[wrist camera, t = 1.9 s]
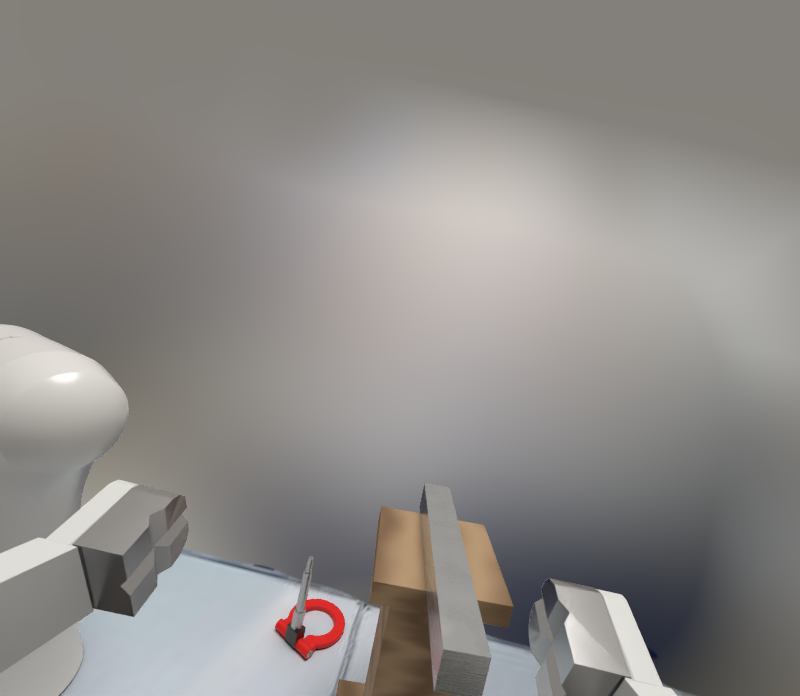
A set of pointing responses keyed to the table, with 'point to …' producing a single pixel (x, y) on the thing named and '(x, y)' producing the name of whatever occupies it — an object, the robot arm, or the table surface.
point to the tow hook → (294, 623)
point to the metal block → (451, 600)
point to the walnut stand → (418, 605)
